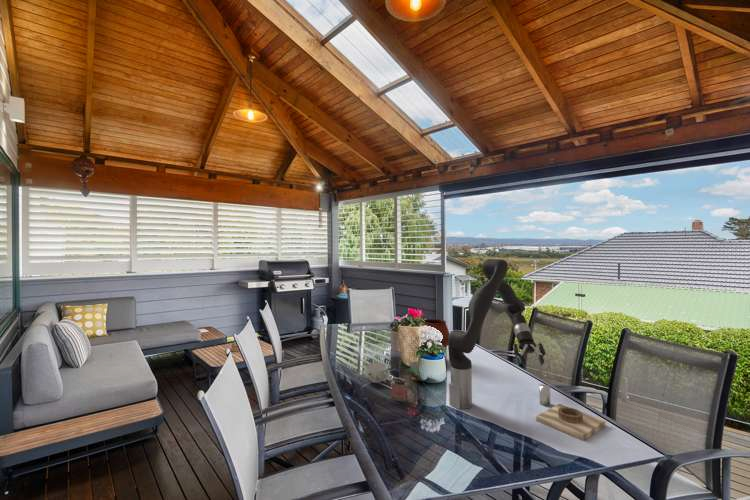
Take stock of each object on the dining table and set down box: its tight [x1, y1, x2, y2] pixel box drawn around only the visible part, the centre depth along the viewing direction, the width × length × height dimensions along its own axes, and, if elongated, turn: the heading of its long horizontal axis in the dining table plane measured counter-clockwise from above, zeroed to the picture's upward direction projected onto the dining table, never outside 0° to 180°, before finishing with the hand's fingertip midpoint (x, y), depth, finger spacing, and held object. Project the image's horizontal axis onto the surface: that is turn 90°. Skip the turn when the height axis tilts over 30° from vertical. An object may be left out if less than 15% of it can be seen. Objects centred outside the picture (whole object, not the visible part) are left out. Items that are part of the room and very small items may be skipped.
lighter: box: [390, 376, 409, 402], centre depth 164 cm, size 8×3×10 cm, turn 65°
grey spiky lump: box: [364, 361, 389, 384], centre depth 185 cm, size 15×12×8 cm
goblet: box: [422, 318, 450, 349], centre depth 217 cm, size 19×19×25 cm
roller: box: [538, 384, 551, 407], centre depth 157 cm, size 4×4×8 cm
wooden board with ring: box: [535, 403, 606, 442], centre depth 140 cm, size 18×18×4 cm
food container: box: [408, 360, 421, 382], centre depth 187 cm, size 12×6×10 cm, turn 117°
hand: (533, 364), depth 168 cm, fingers open, 8 cm apart
